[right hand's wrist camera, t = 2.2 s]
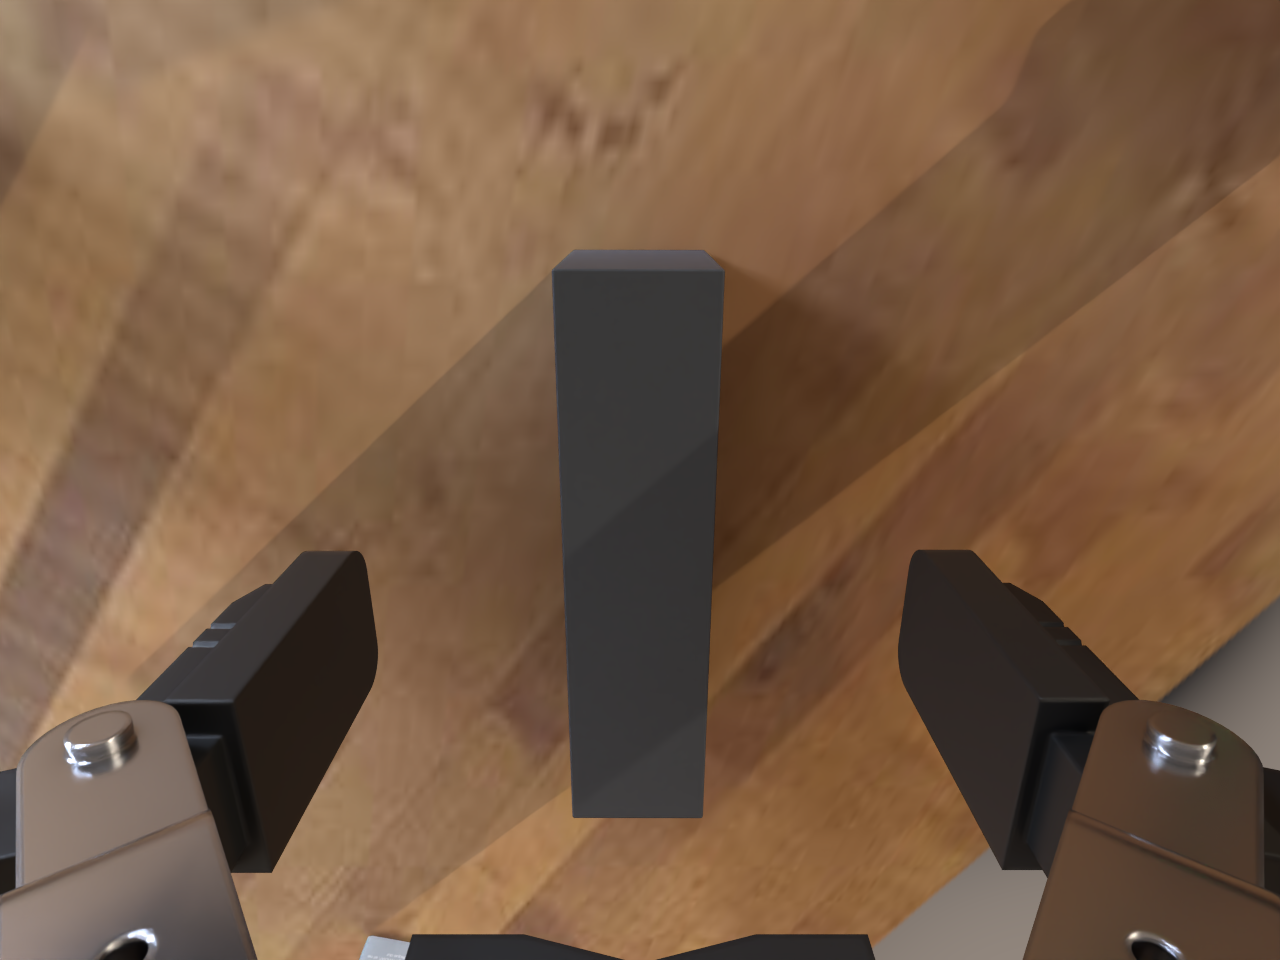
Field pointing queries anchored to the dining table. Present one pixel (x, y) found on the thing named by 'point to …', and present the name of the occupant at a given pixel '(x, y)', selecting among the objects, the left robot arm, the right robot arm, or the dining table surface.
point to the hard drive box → (384, 949)
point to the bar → (638, 521)
